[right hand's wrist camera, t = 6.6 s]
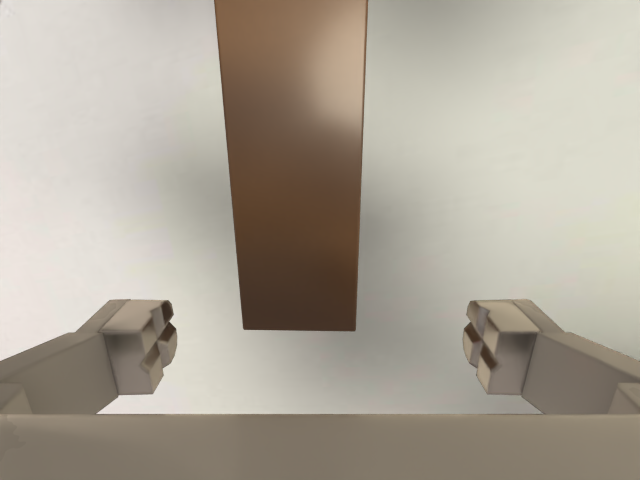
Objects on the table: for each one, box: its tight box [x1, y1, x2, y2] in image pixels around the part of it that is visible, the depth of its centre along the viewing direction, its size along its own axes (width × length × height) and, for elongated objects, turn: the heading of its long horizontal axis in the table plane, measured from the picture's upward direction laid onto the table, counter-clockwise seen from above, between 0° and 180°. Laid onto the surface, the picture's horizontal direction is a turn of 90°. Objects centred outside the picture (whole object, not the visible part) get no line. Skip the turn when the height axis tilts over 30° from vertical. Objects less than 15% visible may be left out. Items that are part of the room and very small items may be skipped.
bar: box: [214, 0, 368, 331], centre depth 14 cm, size 24×4×9 cm, turn 0°
